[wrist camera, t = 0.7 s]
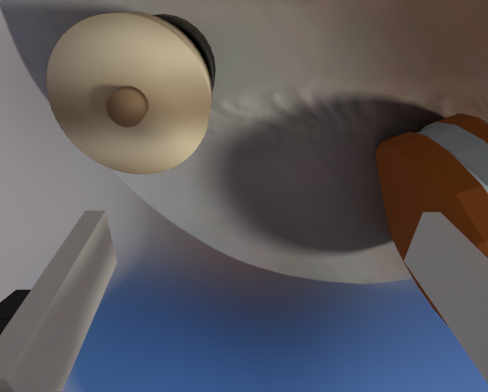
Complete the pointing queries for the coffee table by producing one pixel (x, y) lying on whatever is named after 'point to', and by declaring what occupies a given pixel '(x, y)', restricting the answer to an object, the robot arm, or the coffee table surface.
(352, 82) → the coffee table surface
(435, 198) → the alarm clock
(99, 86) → the lid
